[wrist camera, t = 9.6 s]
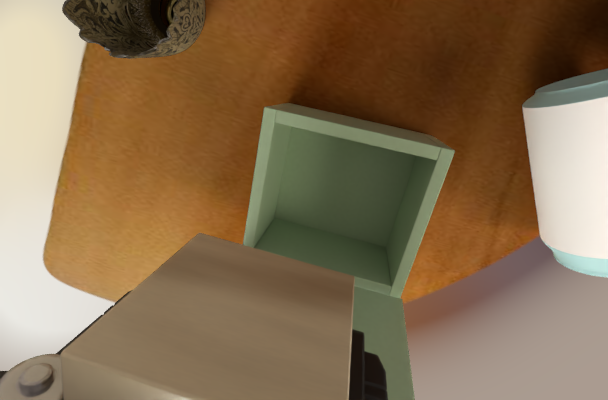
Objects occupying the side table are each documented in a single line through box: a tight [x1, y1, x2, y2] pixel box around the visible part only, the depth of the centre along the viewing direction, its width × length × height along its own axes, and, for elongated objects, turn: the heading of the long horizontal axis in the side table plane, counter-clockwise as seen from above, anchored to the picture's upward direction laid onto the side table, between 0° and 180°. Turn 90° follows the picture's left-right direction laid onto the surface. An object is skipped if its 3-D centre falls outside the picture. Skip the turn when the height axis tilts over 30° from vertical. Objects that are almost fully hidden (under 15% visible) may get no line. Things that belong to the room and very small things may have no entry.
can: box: [522, 69, 608, 277], centre depth 21 cm, size 7×7×12 cm
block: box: [60, 233, 355, 400], centre depth 8 cm, size 5×5×5 cm
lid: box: [352, 286, 415, 400], centre depth 17 cm, size 12×12×1 cm
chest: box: [243, 103, 455, 298], centre depth 24 cm, size 11×12×7 cm
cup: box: [62, 0, 206, 58], centre depth 22 cm, size 8×7×8 cm
